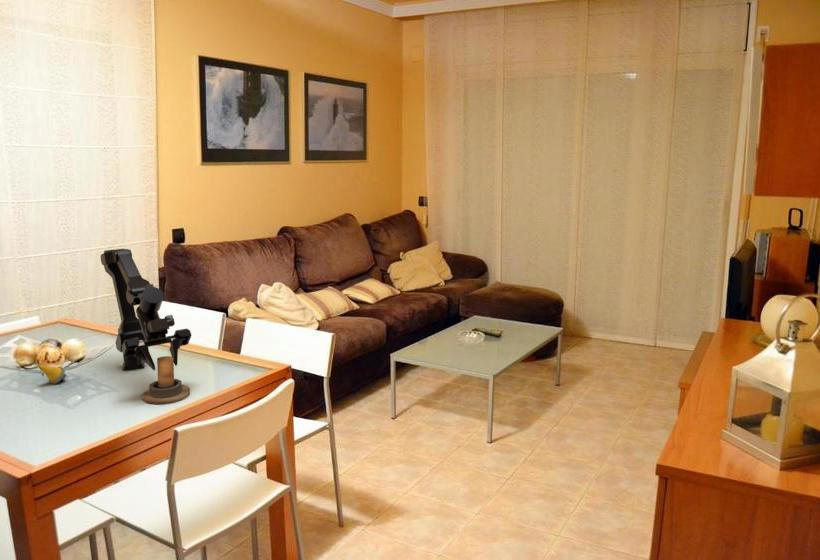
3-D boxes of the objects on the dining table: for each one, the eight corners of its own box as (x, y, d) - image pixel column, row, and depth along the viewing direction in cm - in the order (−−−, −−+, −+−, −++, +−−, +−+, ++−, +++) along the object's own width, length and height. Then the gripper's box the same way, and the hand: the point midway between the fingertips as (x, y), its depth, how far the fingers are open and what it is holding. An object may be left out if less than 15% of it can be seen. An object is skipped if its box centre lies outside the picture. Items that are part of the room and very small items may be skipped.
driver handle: (161, 389, 199) (160, 356, 198) (176, 389, 199) (175, 356, 198) (155, 394, 195) (154, 360, 193) (171, 394, 195) (170, 360, 193)
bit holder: (143, 390, 201) (142, 379, 200) (189, 385, 205) (188, 374, 205) (141, 407, 189) (140, 395, 188) (190, 400, 193) (189, 389, 193)
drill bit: (70, 384, 208) (43, 369, 200) (57, 390, 209) (29, 375, 202) (73, 369, 211) (47, 354, 204) (60, 375, 212) (33, 360, 205)
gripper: (120, 312, 189) (136, 360, 183) (186, 302, 200) (203, 347, 194) (115, 332, 197) (130, 379, 191) (179, 321, 208) (195, 365, 202)
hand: (165, 367), depth 194 cm, fingers open, 6 cm apart
